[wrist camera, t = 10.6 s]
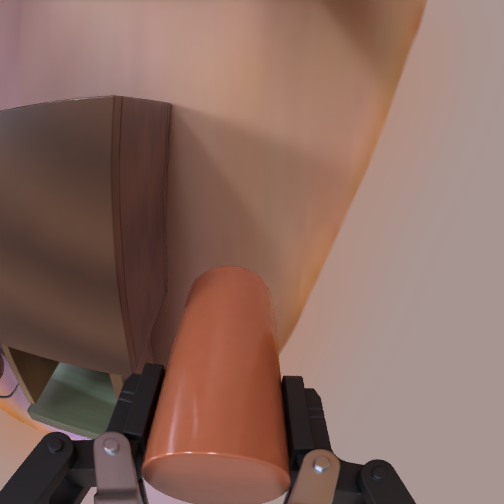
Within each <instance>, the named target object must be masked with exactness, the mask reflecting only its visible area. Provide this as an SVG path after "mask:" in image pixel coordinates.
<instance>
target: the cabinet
mask: <svg viewBox="0 0 504 504" xmlns="http://www.w3.org/2000/svg"><path fill="white" fill-rule="evenodd" d="M170 115H171V103H167V102H161V101H154V100H148V99H140V98H133V97H125V96H115V95H111V96H98V97H86V98H77V99H68V100H60V101H53V102H46V103H39V104H33V105H28V106H22V107H17V108H12V109H7V110H2V111H0V344H2V345H5V346H8V347H11V348H14V349H17V350H21V351H24V352H27V353H30V354H34V355H37V356H40V357H44V358H47V359H51V360H55V361H58V362H62V363H66V364H70V365H74V366H78V367H82V368H87V369H91V370H96V371H100V372H105V373H110V374H115V375H120V376H125V377H129V376H130V375H131V374H132V373H135V372H136V370H137V367H138V365H139V362H140V359H141V357H142V354H143V351H144V349H145V346H146V343H147V341H148V338H149V336H150V333H151V331H152V328H153V326H154V323H155V320H156V318H157V315H158V313H159V311H160V308H161V306H162V303H163V301H164V298H165V296H166V293H167V268H166V196H167V165H168V145H169V129H170Z"/></svg>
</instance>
